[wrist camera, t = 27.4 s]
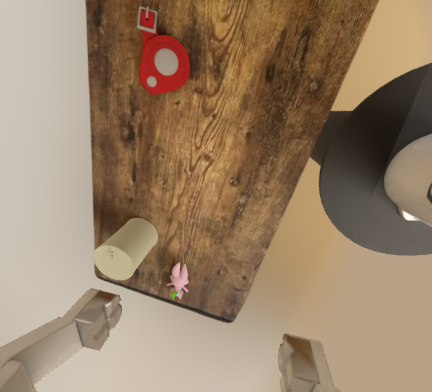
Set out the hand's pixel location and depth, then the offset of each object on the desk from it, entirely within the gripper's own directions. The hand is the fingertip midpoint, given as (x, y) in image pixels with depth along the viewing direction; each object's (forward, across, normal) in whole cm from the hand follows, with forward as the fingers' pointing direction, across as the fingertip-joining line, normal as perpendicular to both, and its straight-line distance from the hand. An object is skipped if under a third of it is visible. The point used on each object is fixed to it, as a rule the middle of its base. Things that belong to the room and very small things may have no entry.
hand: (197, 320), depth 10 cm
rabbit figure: (+34, +12, +34) cm, 50 cm away
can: (+34, +23, +22) cm, 47 cm away
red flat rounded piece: (+34, +16, -17) cm, 41 cm away
